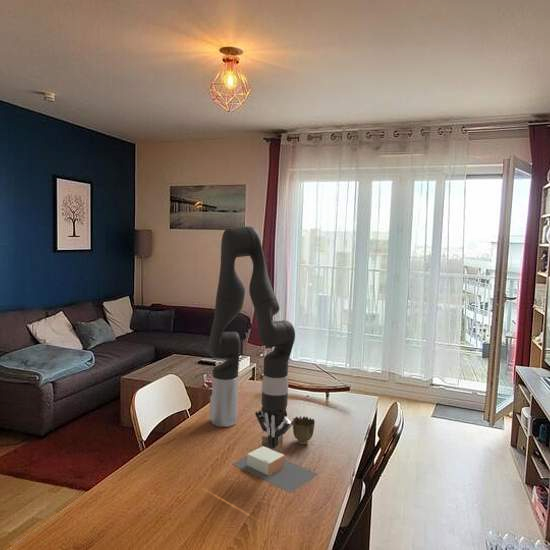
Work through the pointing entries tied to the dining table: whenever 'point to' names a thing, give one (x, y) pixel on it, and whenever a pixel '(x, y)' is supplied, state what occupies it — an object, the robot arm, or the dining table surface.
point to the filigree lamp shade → (303, 429)
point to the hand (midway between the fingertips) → (272, 447)
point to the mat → (282, 475)
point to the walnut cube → (265, 442)
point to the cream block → (265, 460)
